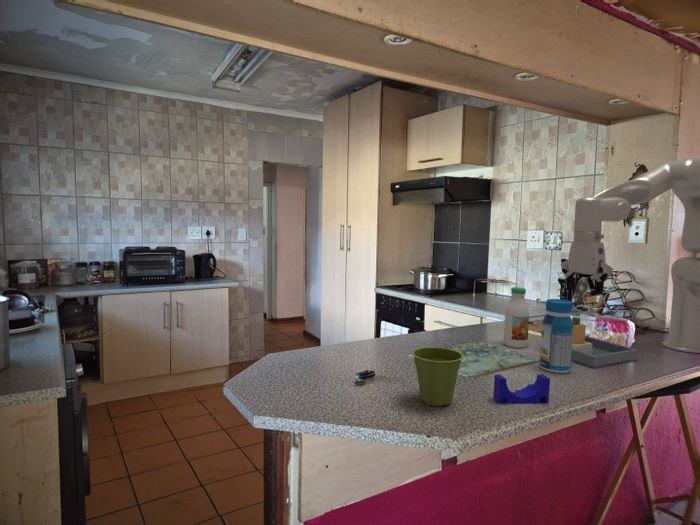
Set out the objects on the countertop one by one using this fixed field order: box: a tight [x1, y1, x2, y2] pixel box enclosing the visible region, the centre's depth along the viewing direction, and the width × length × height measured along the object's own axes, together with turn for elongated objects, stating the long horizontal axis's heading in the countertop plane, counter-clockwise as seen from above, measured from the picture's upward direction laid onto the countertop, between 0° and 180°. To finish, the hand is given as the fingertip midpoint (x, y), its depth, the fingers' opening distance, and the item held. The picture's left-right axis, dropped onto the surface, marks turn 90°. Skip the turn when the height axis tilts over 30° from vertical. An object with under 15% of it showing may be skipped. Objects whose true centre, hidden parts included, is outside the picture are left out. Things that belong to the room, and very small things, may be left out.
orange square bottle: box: [571, 316, 587, 345], centre depth 138 cm, size 4×4×12 cm
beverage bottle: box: [539, 298, 574, 374], centre depth 126 cm, size 8×8×20 cm
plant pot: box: [411, 346, 465, 407], centre depth 102 cm, size 12×12×11 cm
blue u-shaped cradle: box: [493, 373, 551, 404], centre depth 104 cm, size 12×4×6 cm, turn 94°
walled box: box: [571, 335, 639, 369], centre depth 140 cm, size 20×18×5 cm
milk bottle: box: [503, 286, 530, 349], centre depth 150 cm, size 8×8×20 cm
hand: (584, 291), depth 139 cm, fingers open, 9 cm apart
